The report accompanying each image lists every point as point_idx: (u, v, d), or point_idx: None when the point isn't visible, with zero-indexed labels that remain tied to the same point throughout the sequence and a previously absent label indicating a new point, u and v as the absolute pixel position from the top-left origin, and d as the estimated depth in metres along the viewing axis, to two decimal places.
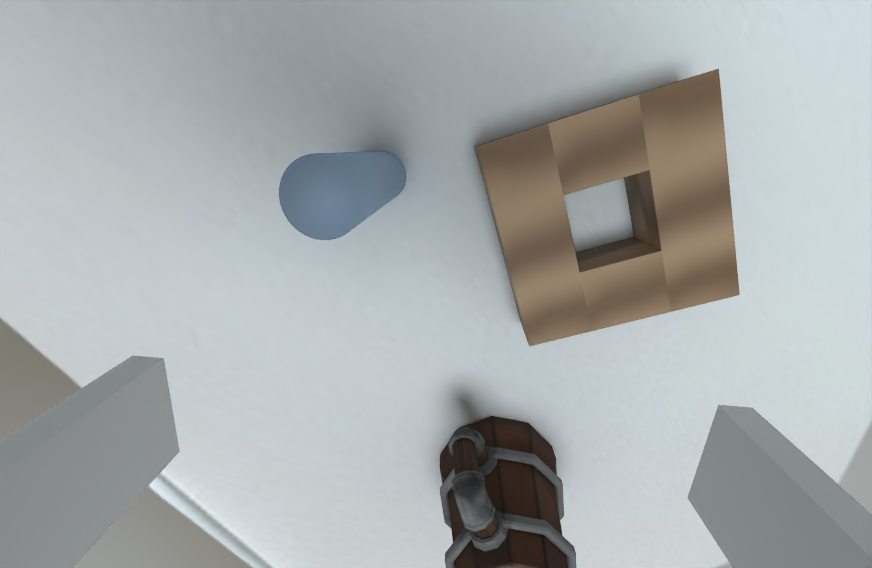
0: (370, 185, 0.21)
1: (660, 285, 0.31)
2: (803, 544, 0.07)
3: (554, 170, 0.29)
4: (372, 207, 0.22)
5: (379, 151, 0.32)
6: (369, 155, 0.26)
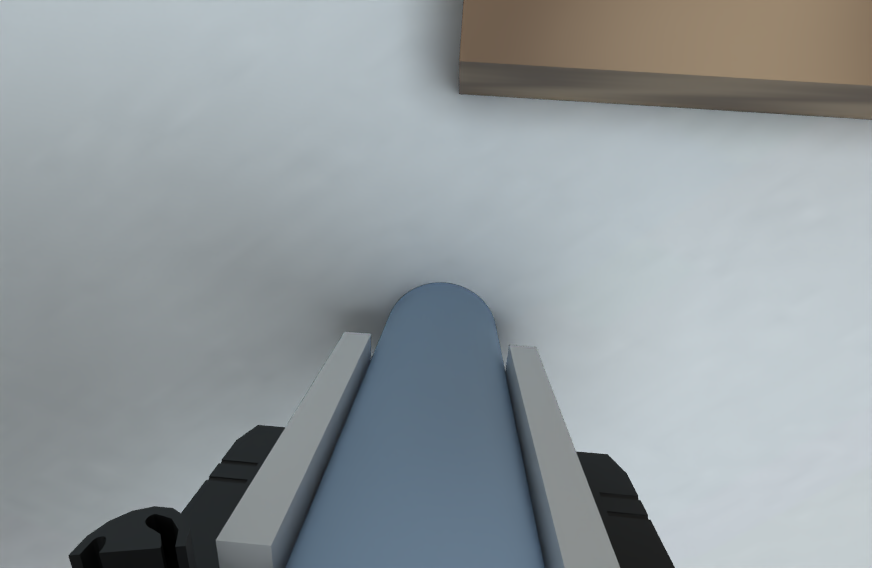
0: None
1: None
2: (518, 434, 0.09)
3: None
4: None
5: None
6: (326, 494, 0.06)
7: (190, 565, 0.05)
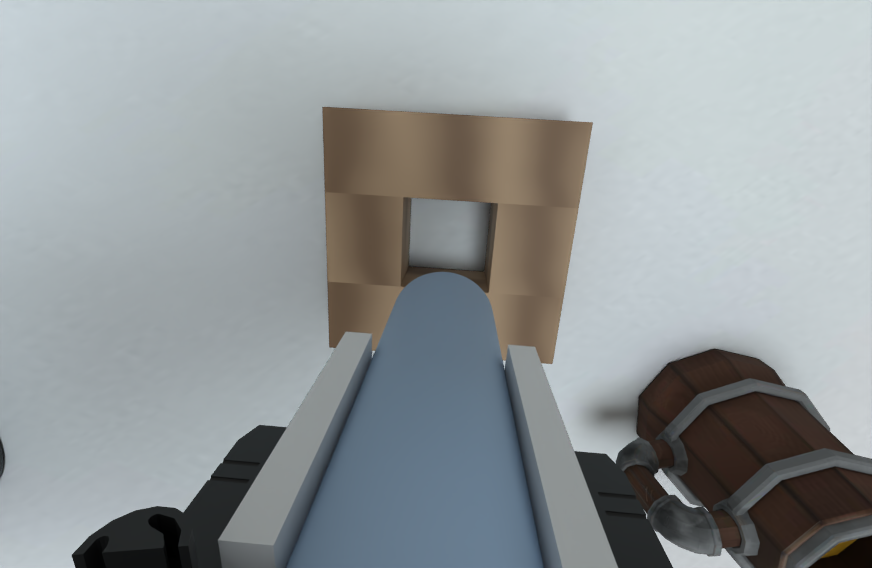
0: None
1: (539, 212, 0.26)
2: (517, 434, 0.09)
3: (373, 288, 0.28)
4: None
5: (390, 314, 0.15)
6: (350, 434, 0.08)
7: (193, 565, 0.05)
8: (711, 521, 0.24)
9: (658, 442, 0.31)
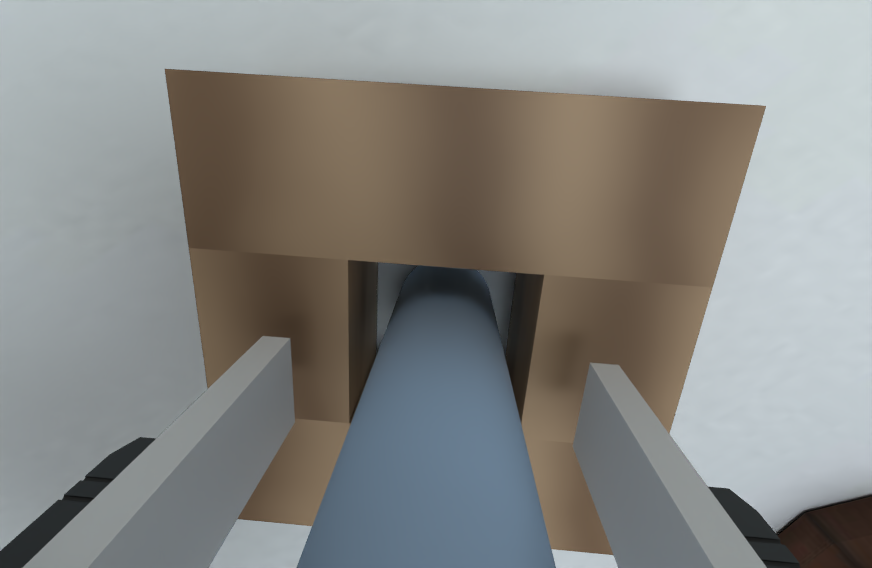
0: None
1: (630, 295, 0.12)
2: (623, 465, 0.08)
3: (297, 424, 0.15)
4: (532, 566, 0.05)
5: None
6: (377, 375, 0.10)
7: None
8: None
9: None
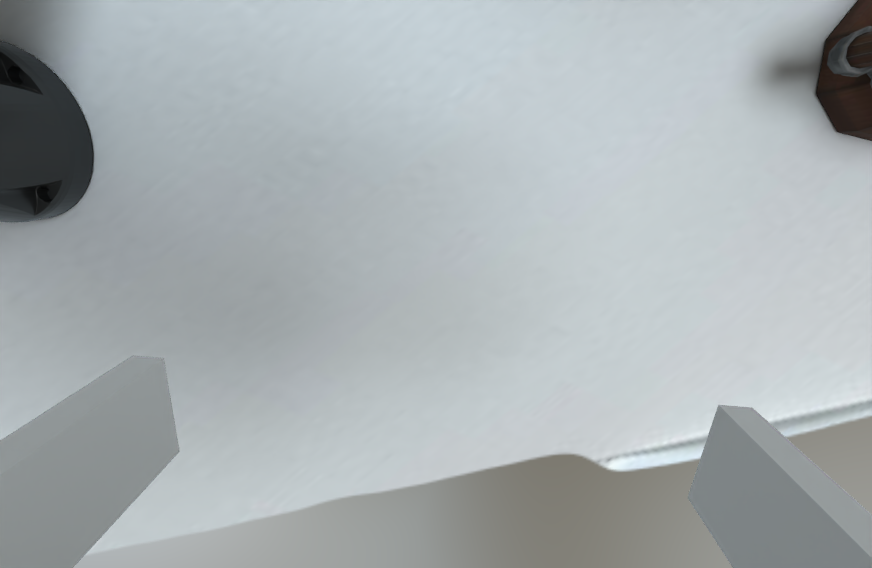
0: None
1: None
2: (803, 544, 0.07)
3: None
4: None
5: None
6: None
7: None
8: None
9: None
